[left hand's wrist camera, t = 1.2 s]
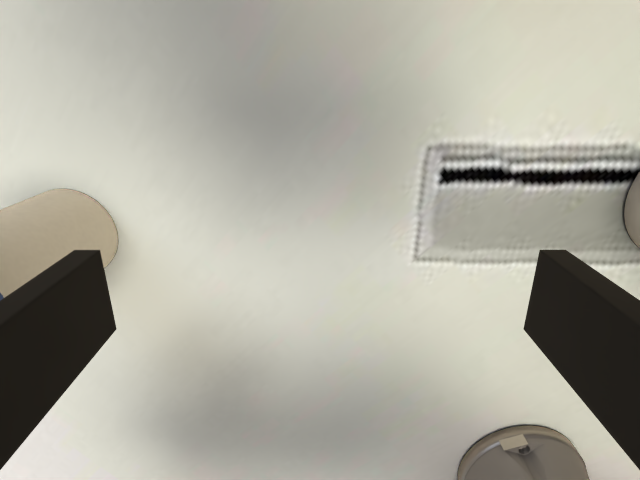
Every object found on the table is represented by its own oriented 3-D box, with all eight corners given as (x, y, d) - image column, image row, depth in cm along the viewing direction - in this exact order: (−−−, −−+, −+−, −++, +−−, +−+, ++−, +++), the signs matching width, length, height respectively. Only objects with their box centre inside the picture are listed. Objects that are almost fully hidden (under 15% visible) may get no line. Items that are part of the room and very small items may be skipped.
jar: (134, 223, 41) (15, 314, 25) (94, 289, 44) (-36, 410, 28) (47, 169, 39) (-142, 230, 23) (11, 242, 42) (-182, 341, 26)
